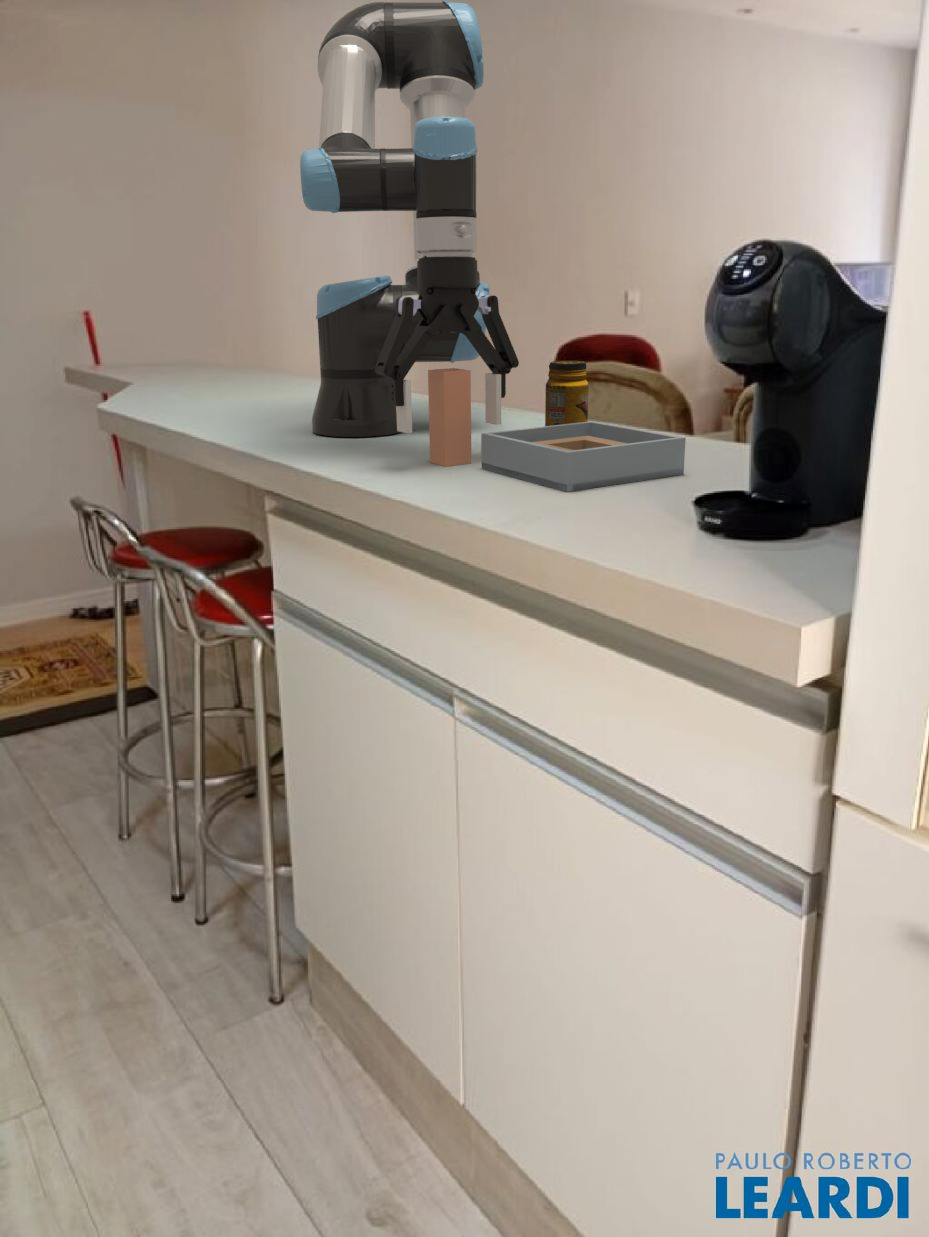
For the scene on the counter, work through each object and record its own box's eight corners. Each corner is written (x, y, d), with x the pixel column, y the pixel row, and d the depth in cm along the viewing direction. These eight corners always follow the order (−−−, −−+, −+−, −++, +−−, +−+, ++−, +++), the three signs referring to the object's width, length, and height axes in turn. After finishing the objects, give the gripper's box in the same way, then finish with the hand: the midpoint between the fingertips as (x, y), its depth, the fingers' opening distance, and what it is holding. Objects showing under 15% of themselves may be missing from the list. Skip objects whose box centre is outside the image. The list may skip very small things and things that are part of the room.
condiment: (599, 448, 143) (602, 361, 139) (552, 454, 139) (554, 365, 135) (567, 441, 149) (569, 358, 145) (521, 447, 145) (521, 361, 141)
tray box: (481, 468, 129) (481, 433, 128) (591, 454, 138) (592, 421, 137) (567, 491, 115) (567, 452, 113) (683, 474, 124) (685, 437, 122)
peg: (430, 462, 134) (427, 369, 130) (455, 458, 136) (454, 368, 132) (445, 466, 131) (443, 372, 127) (471, 463, 133) (470, 370, 129)
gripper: (371, 253, 116) (378, 439, 123) (545, 255, 128) (544, 422, 135) (343, 256, 122) (351, 432, 129) (512, 256, 135) (512, 417, 141)
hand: (450, 427), depth 132 cm, fingers open, 13 cm apart
